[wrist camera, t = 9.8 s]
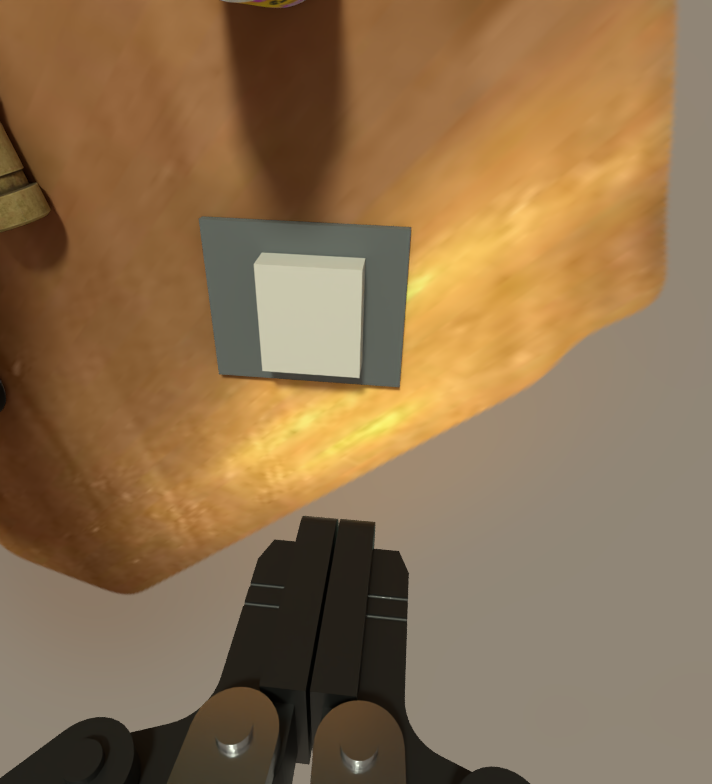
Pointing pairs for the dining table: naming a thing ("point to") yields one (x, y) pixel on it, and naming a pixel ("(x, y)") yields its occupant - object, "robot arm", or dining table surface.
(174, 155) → the dining table surface
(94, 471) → the dining table surface
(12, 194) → the gavel
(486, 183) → the dining table surface
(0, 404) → the beverage can
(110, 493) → the dining table surface
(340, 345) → the tile
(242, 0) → the supplement bottle
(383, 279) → the mat
